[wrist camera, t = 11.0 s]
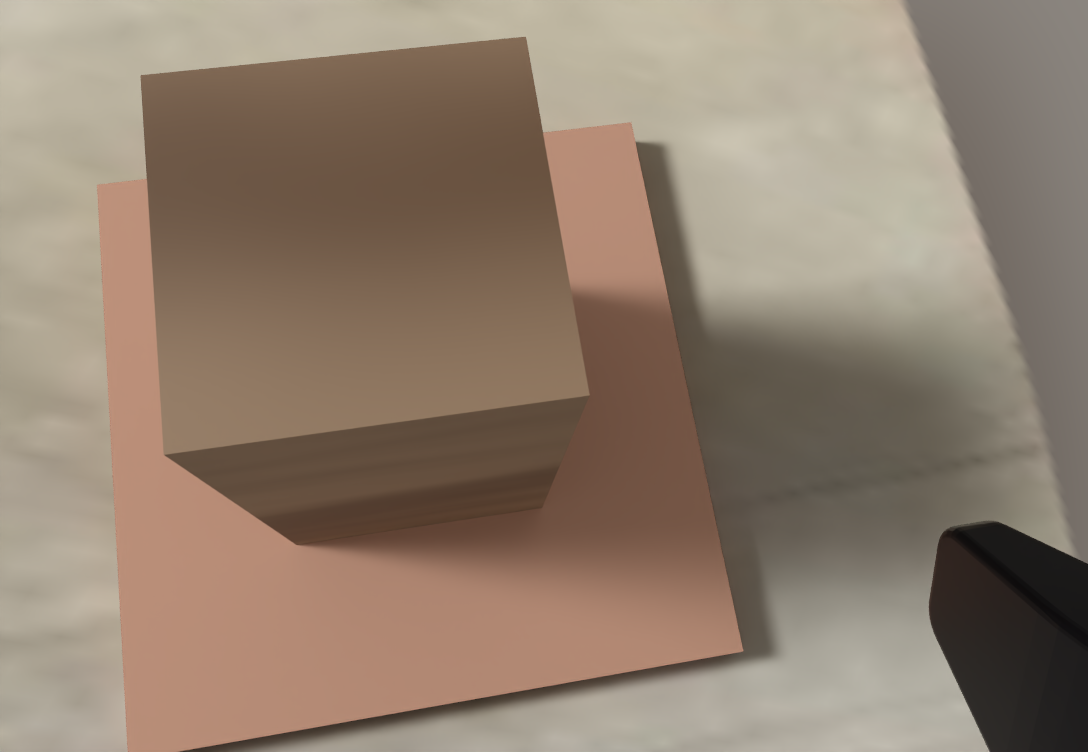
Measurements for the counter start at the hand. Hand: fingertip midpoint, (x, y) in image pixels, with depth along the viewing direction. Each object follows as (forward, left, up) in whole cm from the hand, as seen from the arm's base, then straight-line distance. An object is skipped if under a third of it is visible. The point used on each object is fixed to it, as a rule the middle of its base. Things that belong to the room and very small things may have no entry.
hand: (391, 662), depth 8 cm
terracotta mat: (+5, -2, -13) cm, 14 cm away
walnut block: (+5, -2, -13) cm, 14 cm away
